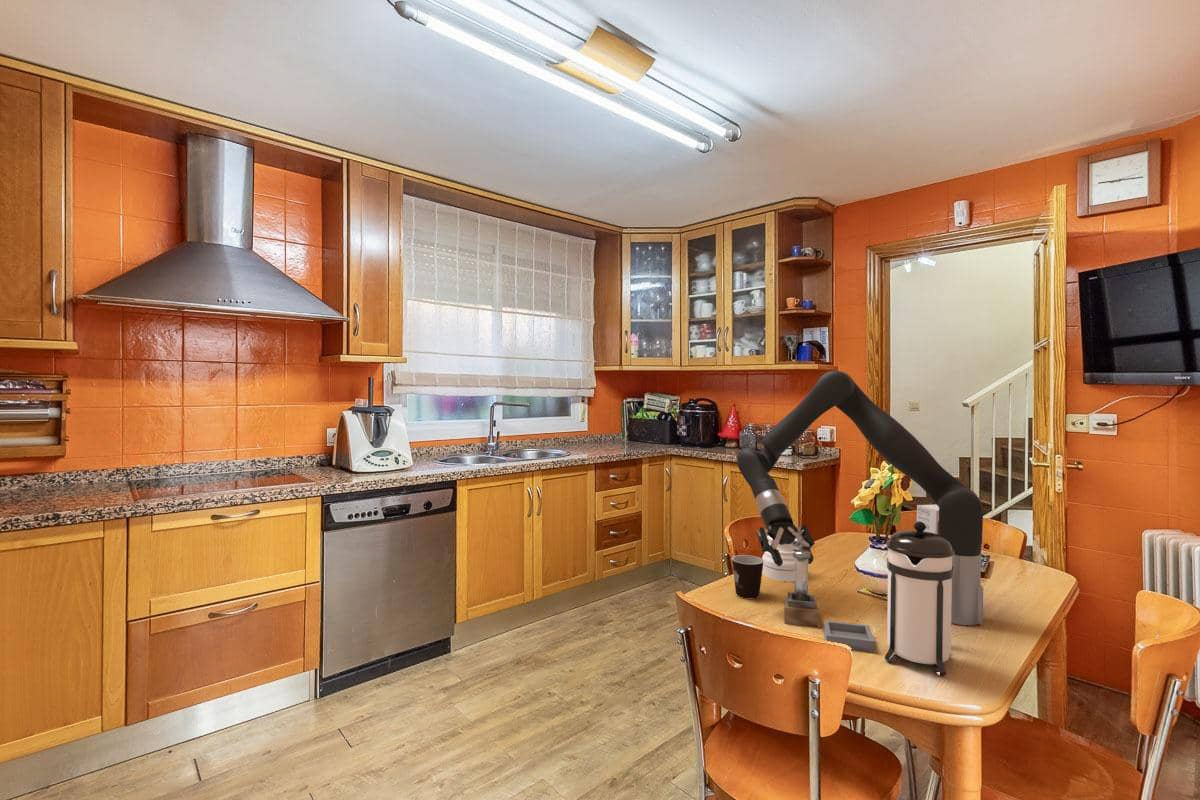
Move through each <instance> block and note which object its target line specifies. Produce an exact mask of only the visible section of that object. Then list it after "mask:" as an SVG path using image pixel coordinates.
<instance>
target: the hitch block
mask: <svg viewBox="0 0 1200 800" xmlns="http://www.w3.org/2000/svg"><path fill="white" fill-rule="evenodd" d="M794 594H795V591H787V595H785V596H784V597H783V599H784V601H783V602H784V604H783V605H784V608H783V609H784V611H783V613H784V615H783V617H784V618H783V619H784V624H786V625H793V626H794V625H796V626H805V627H811V628H820V610H819V603H818V599H815V594H812V593H808V601H800V600H794Z"/></svg>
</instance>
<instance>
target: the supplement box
mask: <svg viewBox="0 0 1200 800" xmlns="http://www.w3.org/2000/svg"><path fill="white" fill-rule="evenodd" d="M919 521H920V522H923V523H924V524H925V526H926V529H925V530H924V531H925V532H931V533H934V534H938V535H939V507H938V505H937V504H936V503H935V504H917V505H916V522H919Z"/></svg>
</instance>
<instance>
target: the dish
mask: <svg viewBox="0 0 1200 800" xmlns="http://www.w3.org/2000/svg"><path fill="white" fill-rule="evenodd" d="M823 634H824V640H827V641H831V642H837V643H842V644H846V645H848V646H850V647H851V648H852V650H853V651H859V652H868V653H874V652H875V651H876V649H875V648H876V640H875V638H874V636H873V632H872V631H871V627H870V625H869V624H861V623H853V622H841V621H837V620H836V621H834V620H826V619H825V620H824V619H823ZM852 650H851V651H852Z"/></svg>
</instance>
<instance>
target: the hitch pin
mask: <svg viewBox="0 0 1200 800" xmlns="http://www.w3.org/2000/svg"><path fill="white" fill-rule="evenodd" d="M793 557H795V582H794V593H795V594H794V600H800V601H808V594H809V564H808V558H810V551H808V550H803V549H795V550H793Z"/></svg>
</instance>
